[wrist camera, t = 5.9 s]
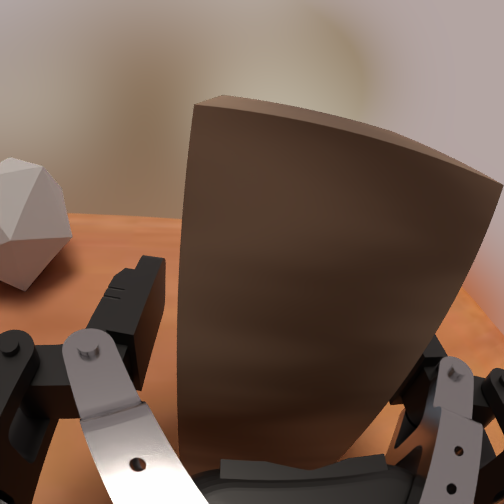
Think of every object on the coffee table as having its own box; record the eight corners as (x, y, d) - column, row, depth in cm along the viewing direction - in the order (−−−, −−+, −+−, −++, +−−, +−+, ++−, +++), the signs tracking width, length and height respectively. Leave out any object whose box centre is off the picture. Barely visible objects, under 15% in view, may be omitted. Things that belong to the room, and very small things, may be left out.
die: (99, 274, 22) (79, 152, 22) (29, 284, 13) (15, 112, 13) (22, 295, 22) (7, 186, 22) (-50, 309, 13) (-61, 166, 13)
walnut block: (181, 489, 10) (194, 104, 4) (192, 396, 14) (222, 94, 8) (303, 493, 10) (503, 184, 4) (292, 404, 15) (391, 131, 8)
